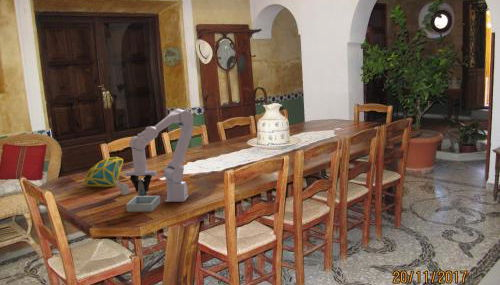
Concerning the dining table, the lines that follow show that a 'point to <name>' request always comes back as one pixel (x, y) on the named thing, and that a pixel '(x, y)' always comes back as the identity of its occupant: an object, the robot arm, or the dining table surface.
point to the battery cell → (141, 187)
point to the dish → (143, 204)
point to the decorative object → (104, 173)
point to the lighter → (123, 188)
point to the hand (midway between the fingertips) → (142, 190)
